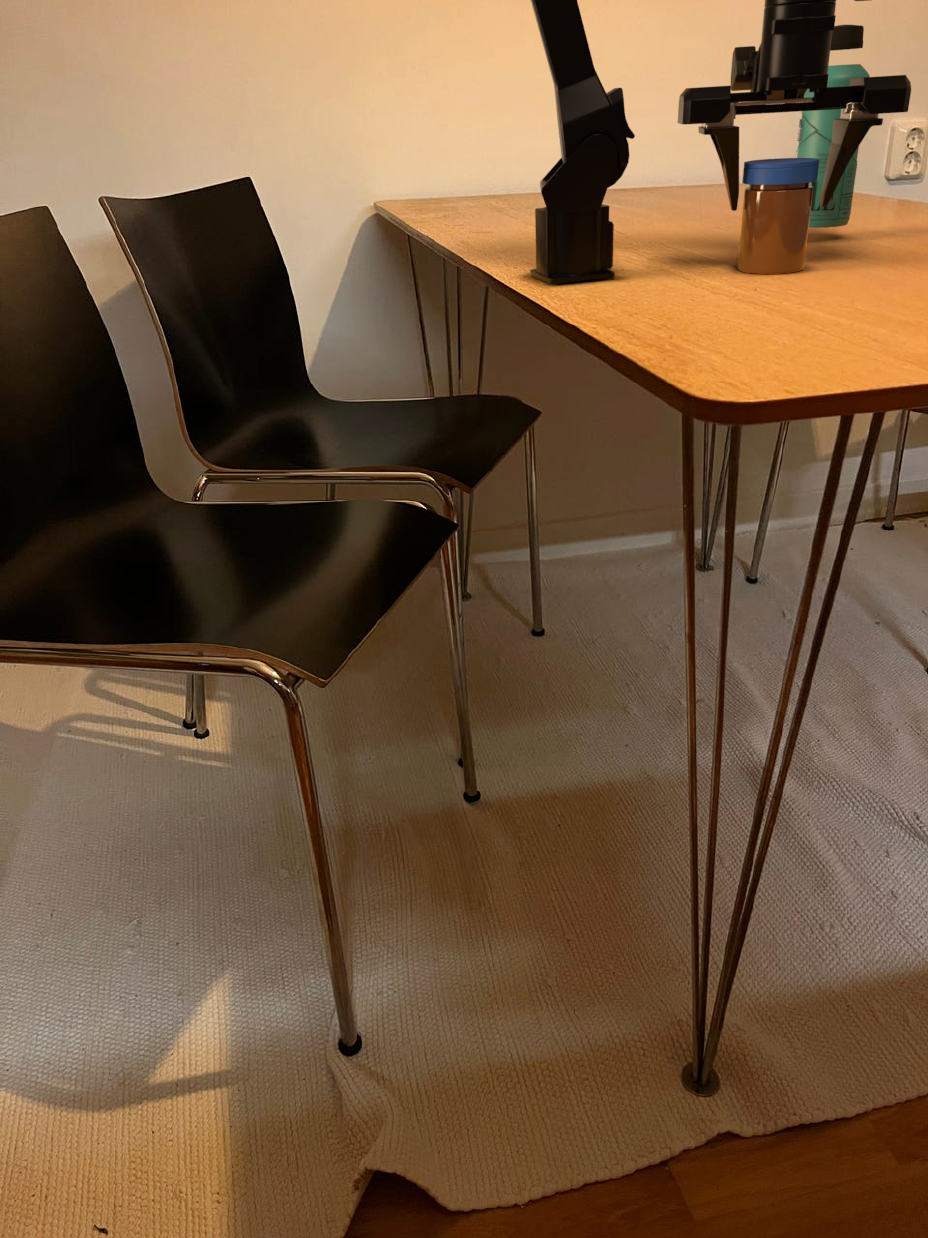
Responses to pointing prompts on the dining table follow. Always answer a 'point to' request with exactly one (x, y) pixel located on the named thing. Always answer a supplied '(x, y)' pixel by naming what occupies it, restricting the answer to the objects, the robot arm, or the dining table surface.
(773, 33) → the robot arm
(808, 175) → the jar lid
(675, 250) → the dining table surface
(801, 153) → the beverage bottle
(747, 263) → the jar
